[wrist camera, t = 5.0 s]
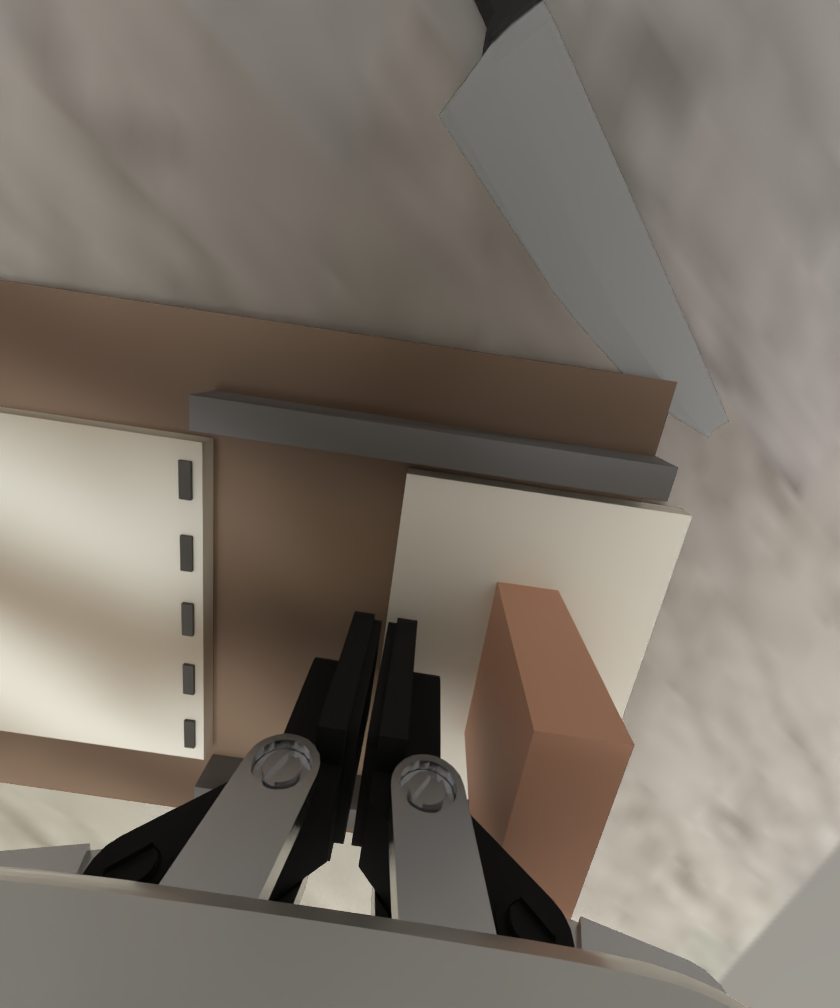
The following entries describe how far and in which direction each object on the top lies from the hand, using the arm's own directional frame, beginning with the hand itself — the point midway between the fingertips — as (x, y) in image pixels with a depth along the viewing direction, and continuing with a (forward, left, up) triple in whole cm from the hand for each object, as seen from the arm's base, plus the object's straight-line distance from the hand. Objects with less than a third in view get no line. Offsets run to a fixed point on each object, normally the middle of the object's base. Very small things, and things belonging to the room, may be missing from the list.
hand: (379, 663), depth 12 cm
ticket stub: (0, +4, -1) cm, 4 cm away
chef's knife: (-12, +2, -3) cm, 12 cm away
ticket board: (0, -3, -2) cm, 4 cm away
